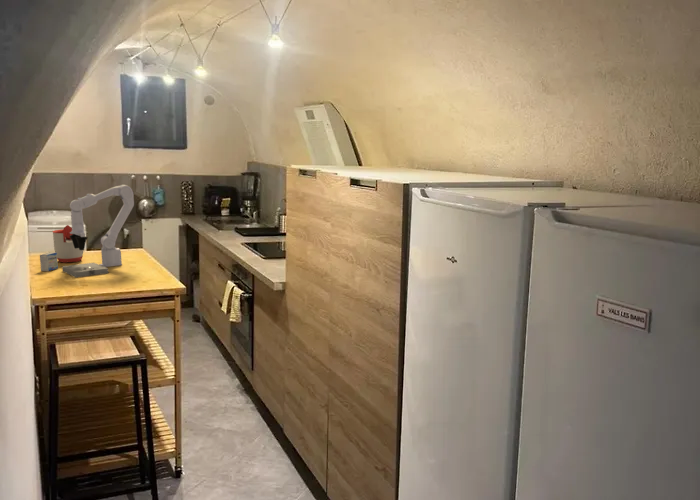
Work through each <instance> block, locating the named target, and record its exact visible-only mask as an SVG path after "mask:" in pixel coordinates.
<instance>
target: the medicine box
mask: <svg viewBox="0 0 700 500" xmlns="http://www.w3.org/2000/svg"><path fill="white" fill-rule="evenodd" d="M39 260H40V261H39V263H40V271H41V272H51V270H52V271H54V270H57V269H58V268H59V265H58V264H59V263H58V259H57V253H56V252H55V251H52V252H45V253H43V254H39Z"/></svg>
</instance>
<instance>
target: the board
mask: <svg viewBox="0 0 700 500" xmlns="http://www.w3.org/2000/svg"><path fill="white" fill-rule="evenodd" d="M99 264H100V263H96V262H87V263H78V264H71V265H63V266H62V269H61V270H62V272H63V273H66V274H68V275H70V276H72V277H74V278H83V277H89V276H96V275H97V276H99V275H103V274H109V268H108V267H104V266H101V265H99ZM87 267H92V268H93V269H91V270H86V268H87Z"/></svg>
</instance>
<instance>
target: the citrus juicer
mask: <svg viewBox="0 0 700 500" xmlns="http://www.w3.org/2000/svg"><path fill="white" fill-rule="evenodd" d="M70 232H72V226H70V225H68V224H66V225H65V227H64V228H62V229H55V230H52V235H53V236H52V237H53V247H54V252H56V253H57V262H60V263H63V264H67V263H79V261H82V259H83V255H84V251H85V249H84V250H79V248H74V245H73V242H72V239H71V238H70V235H73V234H70Z"/></svg>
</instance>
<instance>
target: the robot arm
mask: <svg viewBox="0 0 700 500" xmlns="http://www.w3.org/2000/svg"><path fill="white" fill-rule="evenodd" d="M111 196H115V197H116V196H118V197H120V198H121V201H122V203H123V205H122V206H121V208H120V210H119V212H118V213H117V216H116V217H115V219H114V221H113V222H112V225H111V226H110V228H109V230H107V232H106V233H105V235H103V236H101V238H100V244H101V245H102V247H101V248H100V250H101V251H100V253H101V263H98V264H99V265H101V266H104V267H106V268H108V267H114V266H115V267H116V266H122V265H123V264H122V253H121V248H119V247H116V241H117V239H118V236H119V233H120V231H121V229H122V227H123V226H124V224H125V222H126V220H127V219H128V218H129V215H130V213H131V212H132V210H133V208H134V206H135V199H134V198H135V197H134V191H133V189H132V187H131V186H129V185H127V184H120V185H116V186H112V187H110V188H108V189H106V190H103V191H101V192H99V193H97V194H93V193H86V195H85V196H83V197H77V199H73V200H72V201H71V202H70V204H69V208H70V210H71V211H70V221H71V228H72V232H70V234H73V235H70V238H71V239H72V242H73V245H74V248H79V250H84V251H85V247H86V243H87V240H88V236H86V234H85V233H86V231H85V226H84V214H83V210H84V209H87V208H89V207H90V208H91V206H95V205H97V203H98V201H101V200H102V199H106V198H108V197H111Z"/></svg>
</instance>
